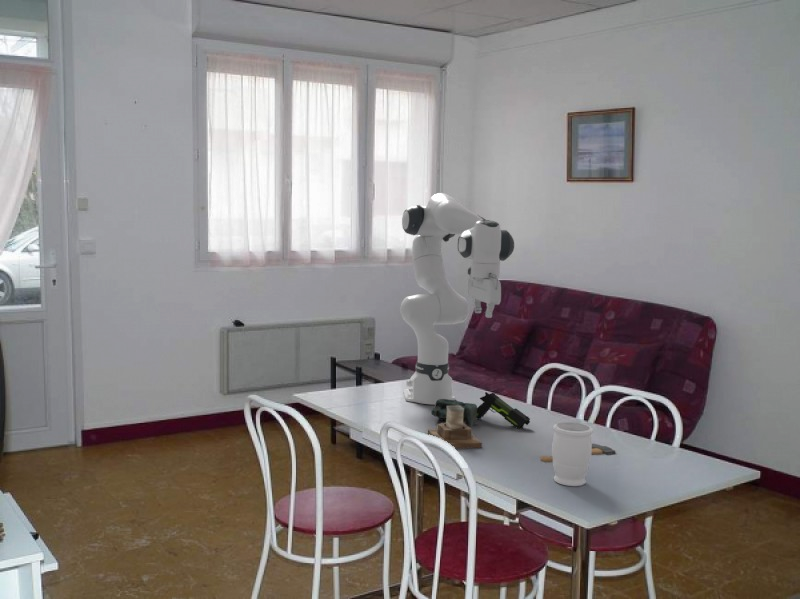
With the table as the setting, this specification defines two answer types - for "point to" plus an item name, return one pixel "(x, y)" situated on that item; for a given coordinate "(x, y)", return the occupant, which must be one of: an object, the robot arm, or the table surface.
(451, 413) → the maple post
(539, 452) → the table surface
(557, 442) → the jar
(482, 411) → the pistol
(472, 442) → the walnut base
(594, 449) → the hand axe
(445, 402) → the sculpture
